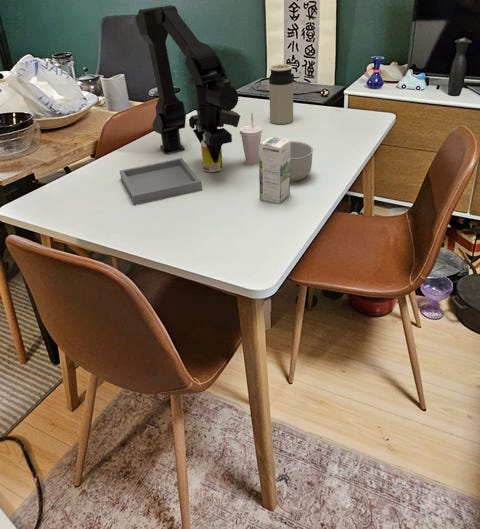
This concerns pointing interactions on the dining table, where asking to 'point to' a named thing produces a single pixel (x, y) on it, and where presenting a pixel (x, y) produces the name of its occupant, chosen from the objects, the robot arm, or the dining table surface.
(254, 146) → the smoothie
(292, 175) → the teacup
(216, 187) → the dining table surface
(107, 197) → the dining table surface
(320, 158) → the dining table surface
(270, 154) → the syrup box
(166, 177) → the tray
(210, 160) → the supplement bottle
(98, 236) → the dining table surface
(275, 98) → the travel mug
